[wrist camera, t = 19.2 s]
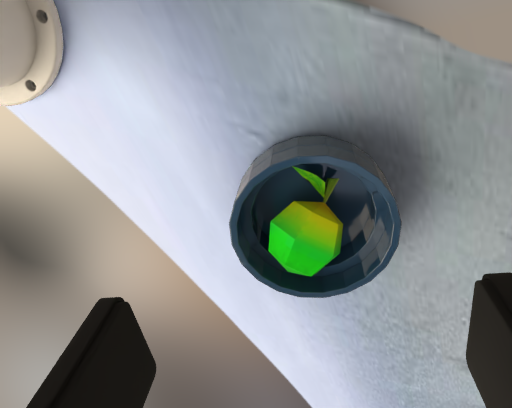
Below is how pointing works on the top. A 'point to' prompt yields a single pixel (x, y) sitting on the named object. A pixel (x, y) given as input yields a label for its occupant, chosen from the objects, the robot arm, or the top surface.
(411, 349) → the top surface
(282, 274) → the bowl
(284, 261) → the apple
